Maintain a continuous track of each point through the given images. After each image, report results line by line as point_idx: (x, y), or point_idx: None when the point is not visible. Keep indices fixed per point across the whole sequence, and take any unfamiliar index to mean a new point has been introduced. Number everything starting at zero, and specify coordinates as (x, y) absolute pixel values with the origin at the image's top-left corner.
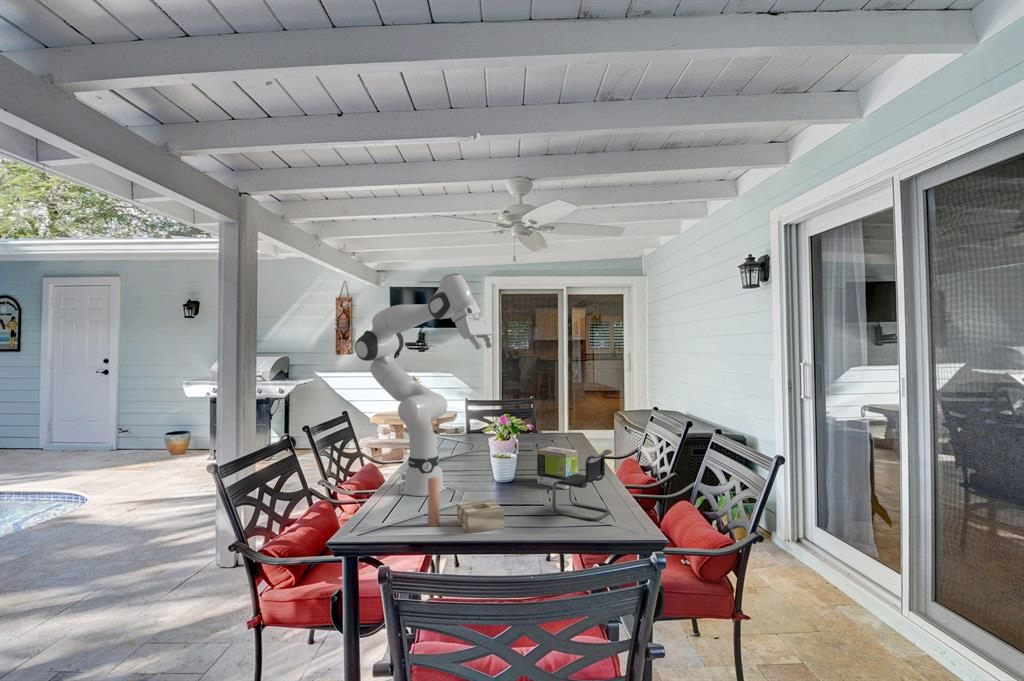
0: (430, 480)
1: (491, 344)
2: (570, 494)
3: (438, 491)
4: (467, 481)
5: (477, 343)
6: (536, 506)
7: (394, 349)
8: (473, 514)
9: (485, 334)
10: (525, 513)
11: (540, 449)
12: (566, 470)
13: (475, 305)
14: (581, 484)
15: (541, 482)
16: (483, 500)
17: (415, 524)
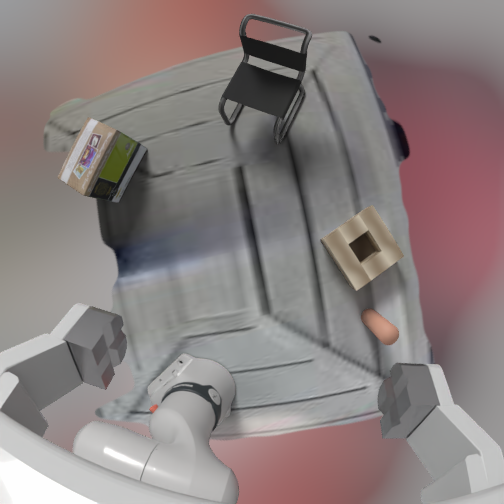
0: (397, 337)
1: (76, 314)
2: (228, 120)
3: (385, 320)
4: (129, 328)
5: (447, 412)
6: (249, 177)
7: None
8: (399, 249)
9: (78, 456)
10: (290, 188)
11: (82, 188)
12: (131, 138)
13: None
14: (298, 80)
15: (121, 194)
16: (332, 251)
17: (369, 342)
